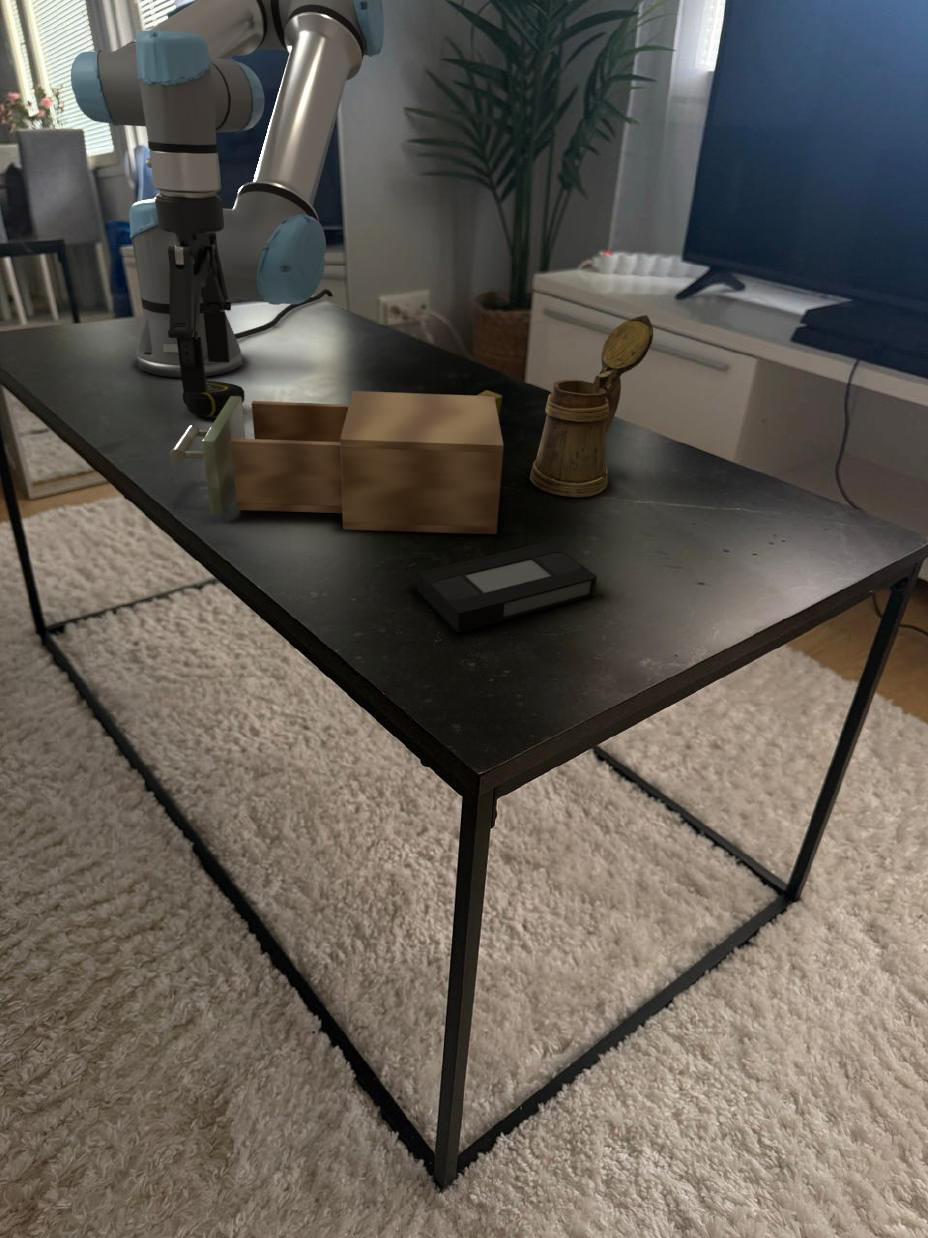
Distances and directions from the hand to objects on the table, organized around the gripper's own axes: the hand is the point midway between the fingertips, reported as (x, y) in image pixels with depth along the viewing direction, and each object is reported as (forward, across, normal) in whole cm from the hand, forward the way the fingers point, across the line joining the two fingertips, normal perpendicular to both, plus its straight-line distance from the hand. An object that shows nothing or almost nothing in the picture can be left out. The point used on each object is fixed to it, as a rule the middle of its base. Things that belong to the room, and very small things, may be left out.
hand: (207, 375), depth 108 cm
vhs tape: (+6, +45, +36) cm, 58 cm away
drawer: (+4, +26, +12) cm, 29 cm away
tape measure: (+5, 0, 0) cm, 5 cm away
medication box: (+5, +5, +34) cm, 35 cm away
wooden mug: (+5, +18, +47) cm, 51 cm away
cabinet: (+5, +26, +28) cm, 38 cm away
